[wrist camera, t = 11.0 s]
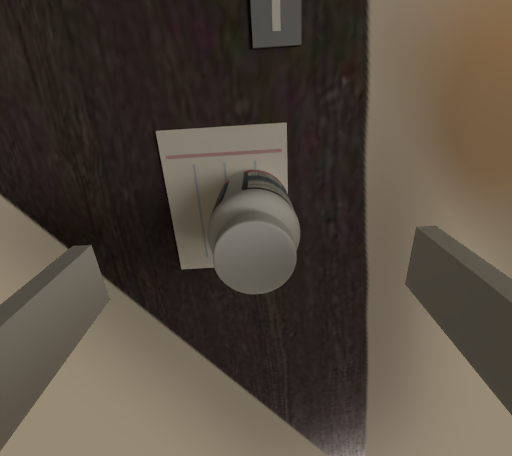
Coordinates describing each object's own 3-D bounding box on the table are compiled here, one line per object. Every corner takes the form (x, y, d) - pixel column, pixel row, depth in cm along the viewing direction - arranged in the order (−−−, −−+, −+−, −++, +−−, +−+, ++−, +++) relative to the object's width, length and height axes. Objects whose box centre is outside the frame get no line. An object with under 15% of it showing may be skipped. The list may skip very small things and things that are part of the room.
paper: (157, 130, 20) (155, 131, 19) (285, 122, 20) (286, 122, 19) (182, 266, 24) (181, 269, 24) (288, 261, 24) (288, 263, 24)
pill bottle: (239, 244, 23) (231, 321, 15) (205, 189, 21) (174, 240, 13) (299, 216, 22) (326, 280, 14) (269, 155, 20) (279, 187, 12)
